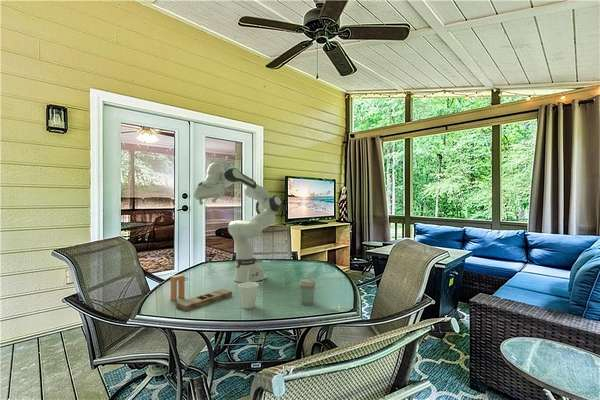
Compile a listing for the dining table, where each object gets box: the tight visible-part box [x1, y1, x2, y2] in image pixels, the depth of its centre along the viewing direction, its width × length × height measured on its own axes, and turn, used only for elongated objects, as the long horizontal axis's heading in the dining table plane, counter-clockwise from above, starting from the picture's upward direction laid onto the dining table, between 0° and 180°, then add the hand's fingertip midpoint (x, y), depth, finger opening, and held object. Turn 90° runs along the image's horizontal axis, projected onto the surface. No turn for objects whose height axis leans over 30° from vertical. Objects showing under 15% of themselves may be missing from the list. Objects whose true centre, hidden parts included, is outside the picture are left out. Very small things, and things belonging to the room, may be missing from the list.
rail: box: [175, 288, 233, 312], centre depth 154 cm, size 28×8×2 cm, turn 143°
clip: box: [170, 273, 186, 301], centre depth 158 cm, size 6×4×12 cm, turn 143°
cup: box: [238, 281, 259, 310], centre depth 147 cm, size 10×10×11 cm
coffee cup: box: [298, 277, 316, 306], centre depth 152 cm, size 8×8×12 cm
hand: (207, 203), depth 184 cm, fingers open, 8 cm apart
